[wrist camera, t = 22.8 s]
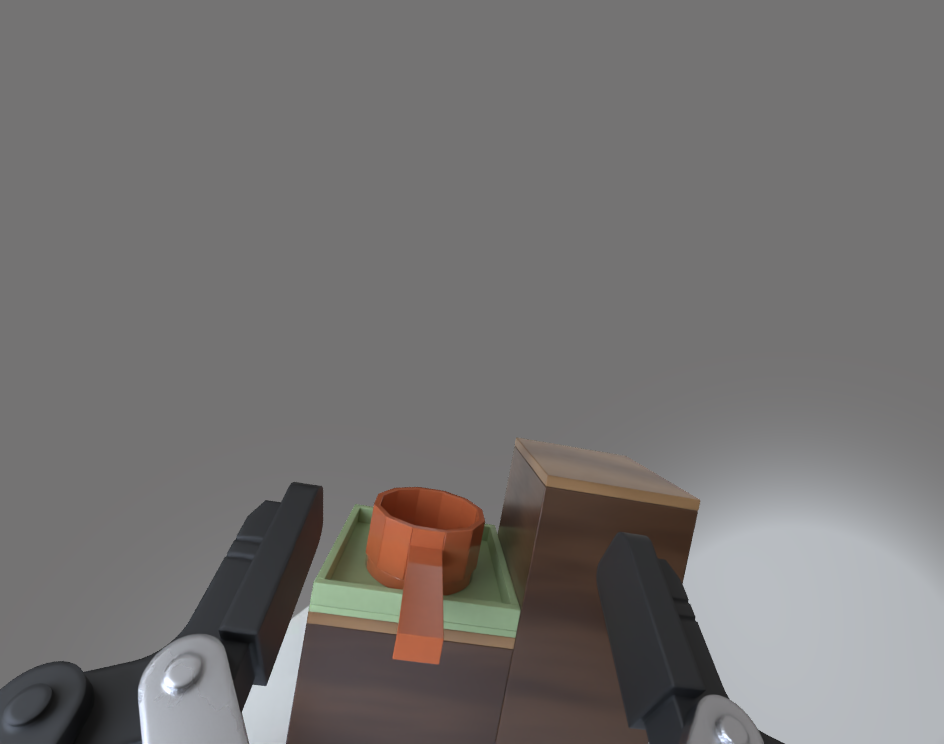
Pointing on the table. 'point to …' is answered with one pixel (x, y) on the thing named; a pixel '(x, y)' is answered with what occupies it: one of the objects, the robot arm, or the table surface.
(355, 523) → the tray
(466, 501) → the saucepan
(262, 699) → the table surface
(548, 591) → the stand
